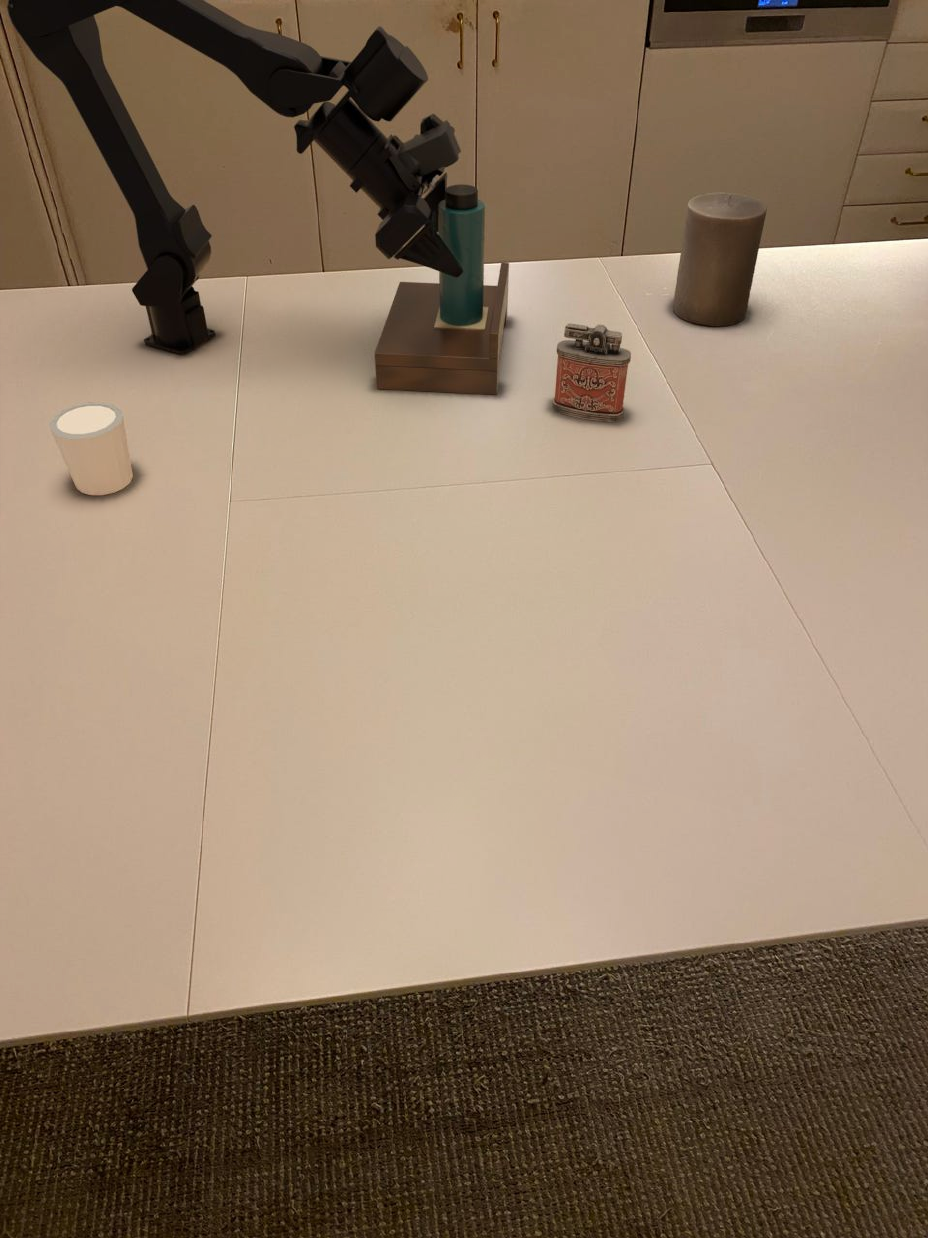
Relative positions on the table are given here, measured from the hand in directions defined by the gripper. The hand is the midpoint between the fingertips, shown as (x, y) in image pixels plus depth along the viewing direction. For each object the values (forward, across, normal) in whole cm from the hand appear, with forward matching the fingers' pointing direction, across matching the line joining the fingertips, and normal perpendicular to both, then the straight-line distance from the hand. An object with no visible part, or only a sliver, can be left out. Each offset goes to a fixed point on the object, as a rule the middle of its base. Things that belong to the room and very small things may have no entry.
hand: (464, 258), depth 110 cm
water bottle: (+5, 0, +5) cm, 7 cm away
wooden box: (+7, 0, +10) cm, 12 cm away
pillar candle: (+30, +15, -14) cm, 37 cm away
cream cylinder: (-15, -31, +32) cm, 48 cm away
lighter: (+19, -13, -2) cm, 23 cm away
